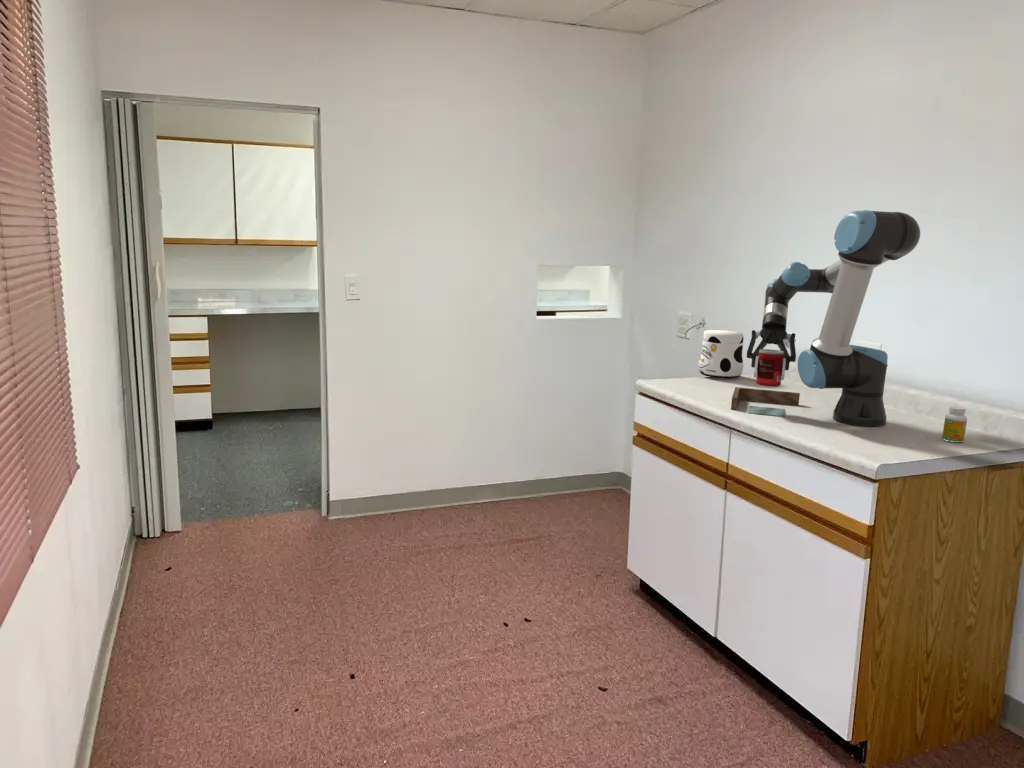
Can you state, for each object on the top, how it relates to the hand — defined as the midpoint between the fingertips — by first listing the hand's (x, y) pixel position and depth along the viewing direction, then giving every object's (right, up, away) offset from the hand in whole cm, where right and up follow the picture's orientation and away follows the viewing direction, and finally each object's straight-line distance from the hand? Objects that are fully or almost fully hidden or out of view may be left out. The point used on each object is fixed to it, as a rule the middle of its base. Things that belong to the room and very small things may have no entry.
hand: (769, 376), depth 241 cm
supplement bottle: (+44, -19, -25) cm, 54 cm away
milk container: (+2, 0, +65) cm, 65 cm away
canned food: (+1, -3, +4) cm, 5 cm away
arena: (+2, -10, +10) cm, 15 cm away
